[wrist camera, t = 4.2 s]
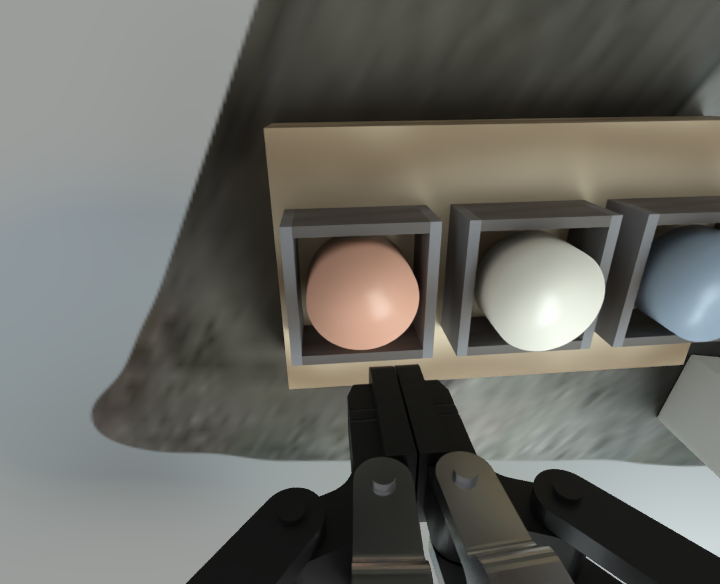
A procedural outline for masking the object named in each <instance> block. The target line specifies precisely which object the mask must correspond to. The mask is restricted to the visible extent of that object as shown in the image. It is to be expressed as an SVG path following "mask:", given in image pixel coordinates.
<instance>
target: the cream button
mask: <svg viewBox="0 0 720 584" xmlns="http://www.w3.org/2000/svg"><path fill="white" fill-rule="evenodd" d="M604 295H605V280H604V276H603V273H602V271H601V269H600V267H599V265H598V264H597V263H596V262H595V260H594V259H593V258H591V257H590V256H589V255H587V254H586V253H584V252H582V251H581V250H579V249H577V248H576V247H574V246H572V245H571V244H569V243H567V242H565V241H564V240H562V239H560V238H559V237H557V236H555V235H553V234H551V233H548V232H545V231H539V230H529V231H522V232H518V233H515V234H512V235H510V236H508V237H506V238H504V239H503V240H501V241H499V242H498V243H497V244H496V245H494V246H493V247H492V248H491V249H490V250H489V251H488V252H487V253H486V255H485V256H484V257H483V259H482V260H481V262H480V264H479V266H478V268H477V271H476V277H475V286H474V296H475V300H476V302H477V304H478V306H479V308H480V309H481V311H482V312H483V313H484V315H485V316H486V317H487V319H488V320H489V321H490V323H491V324H492V325H493V327H494V328H495V329H496V331H497V332H498V333H499V335H500V336H501V337H502V338H503V339H504V340H505V341H506V342H507V343H509V344H510V345H512V346H514V347H516V348H519V349H522V350H526V351H546V350H551V349H554V348H557V347H560V346H563V345H565V344H567V343H569V342H570V341H572V340H574V339H575V338H577V337H578V336H579V335H580V334H582V333H583V332H584V331H585V330H586V329H587V328H588V327H589V326H590V325H591V323H592V322H593V321H594V319H595V318H596V316H597V314H598V313H599V311H600V308H601V306H602V303H603V300H604Z"/></svg>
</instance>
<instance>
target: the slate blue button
mask: <svg viewBox="0 0 720 584" xmlns="http://www.w3.org/2000/svg"><path fill="white" fill-rule="evenodd" d="M634 304H635V306H636V307H637V308H638V309H639V310H640V311H642V312H643V313H645V314H646V315H648V316H649V317H651V318H652V319H654V320H655V321H657V322H658V323H660V324H661V325H663V326H664V327H666V328H667V329H669V330H670V331H672V332H673V333H674V334H676V335H677V336H679V337H681V338H683V339H685V340H689V341H694V342H705V341H712V340H716V339H719V338H720V230H718V229H715V228H712V227H709V226H706V225H700V224H692V225H685V226H681V227H678V228H675V229H673V230H671V231H668V232H667V233H665V234H663V235H662V236H660V237H659V238H657V239H656V240H655V241H654V242H652V244H651V248H650V251H649V254H648V258H647V261H646V265H645V268H644V272H643V275H642V279H641V282H640V286H639V289H638V293H637V296H636V300H635V303H634Z"/></svg>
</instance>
